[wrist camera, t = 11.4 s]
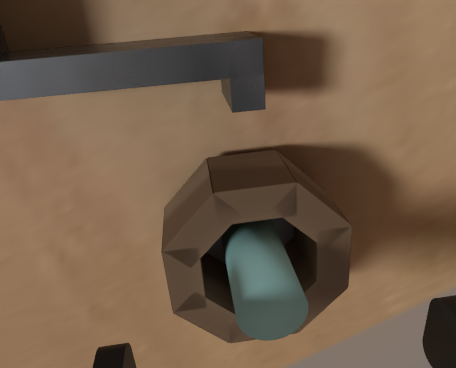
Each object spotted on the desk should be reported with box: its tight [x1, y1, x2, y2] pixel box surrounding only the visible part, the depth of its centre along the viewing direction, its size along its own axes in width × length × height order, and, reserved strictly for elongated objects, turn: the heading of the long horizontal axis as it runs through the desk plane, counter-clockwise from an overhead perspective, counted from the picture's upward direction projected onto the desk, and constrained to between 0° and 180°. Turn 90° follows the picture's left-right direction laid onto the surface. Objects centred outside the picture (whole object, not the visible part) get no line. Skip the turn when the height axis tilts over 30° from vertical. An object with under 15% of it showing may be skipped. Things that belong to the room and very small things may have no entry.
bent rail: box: [0, 27, 265, 113], centre depth 11 cm, size 6×9×3 cm
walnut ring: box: [162, 150, 352, 343], centre depth 15 cm, size 6×6×3 cm
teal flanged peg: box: [207, 218, 308, 340], centre depth 14 cm, size 5×5×6 cm
